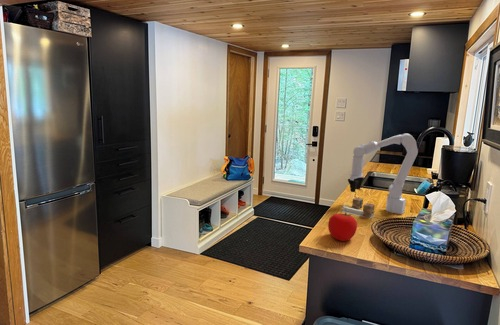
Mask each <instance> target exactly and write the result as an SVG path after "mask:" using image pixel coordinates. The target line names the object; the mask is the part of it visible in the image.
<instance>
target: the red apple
mask: <svg viewBox="0 0 500 325" xmlns="http://www.w3.org/2000/svg"><path fill="white" fill-rule="evenodd" d="M352 215H353V214H349V213H345V212H344V213H342V212H341V213H334V214H332V215H331V216H330V217H329V220H328V222H327V226H328V227H327V228H328V232H329V233H330V235H331V236H332V238H334V239H335V240H337V241H341V242H345V241H346V242H347V241H349V240H351V239H352V238H354V236H355V234H356V233H357V229H358V223H357V220H356V219H355V217H354V216H352Z"/></svg>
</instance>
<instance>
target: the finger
mask: <svg viewBox="0 0 500 325" xmlns="http://www.w3.org/2000/svg"><path fill="white" fill-rule="evenodd" d="M362 211H363V216H365V217H364V218H366V217H369V218H368V219H370V218H371V213H373V215H375V204H373V203H369V202H366V203H365V204H363V205H362ZM371 219H372V218H371Z"/></svg>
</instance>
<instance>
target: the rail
mask: <svg viewBox="0 0 500 325" xmlns="http://www.w3.org/2000/svg"><path fill="white" fill-rule="evenodd" d="M340 212H341V213H344V214H345V213H346V214H353V215H354V216H357V217H362V218H367V219H370V220H371V219H373V217H375V216H376V215H375V214H374V215H373V213H371V218H369V217H365V216H363V209H362V210H361V209H359V210H358V209H354V208H352V207H349V206H347V204H344V205H343V206H342V210H341V211H340Z"/></svg>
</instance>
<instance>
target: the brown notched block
mask: <svg viewBox="0 0 500 325" xmlns="http://www.w3.org/2000/svg"><path fill="white" fill-rule="evenodd" d="M351 205H352V206H351V208H353V209H358V210H361V209H363V206H364V199H363V198H360V197H357V196H356V197H354V198H352V204H351Z"/></svg>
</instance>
